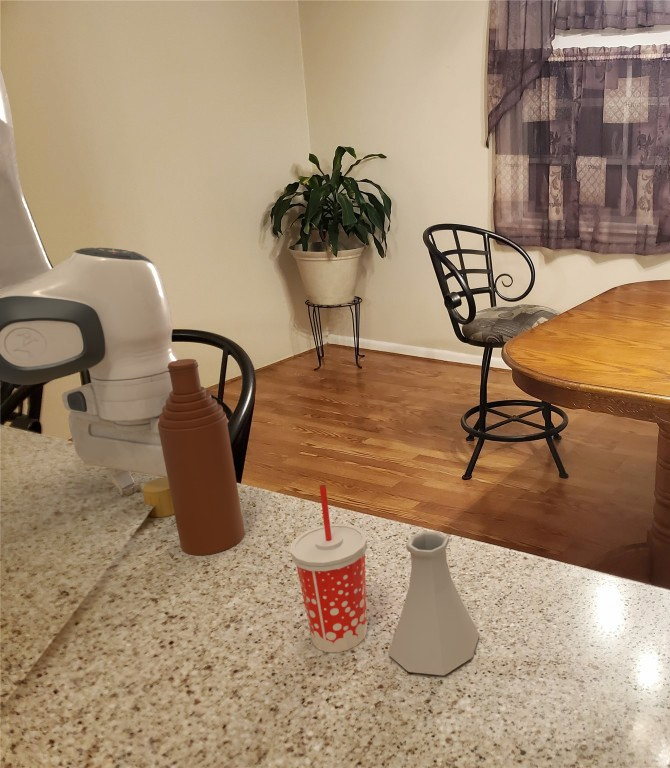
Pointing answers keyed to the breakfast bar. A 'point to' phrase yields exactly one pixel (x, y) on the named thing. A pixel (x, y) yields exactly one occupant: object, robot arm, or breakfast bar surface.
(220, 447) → the bottle
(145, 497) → the bottle cap
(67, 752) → the breakfast bar surface
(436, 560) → the flask
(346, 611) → the beverage cup
